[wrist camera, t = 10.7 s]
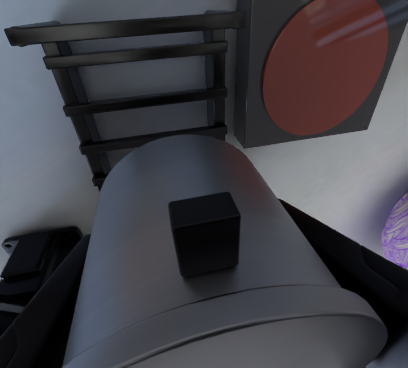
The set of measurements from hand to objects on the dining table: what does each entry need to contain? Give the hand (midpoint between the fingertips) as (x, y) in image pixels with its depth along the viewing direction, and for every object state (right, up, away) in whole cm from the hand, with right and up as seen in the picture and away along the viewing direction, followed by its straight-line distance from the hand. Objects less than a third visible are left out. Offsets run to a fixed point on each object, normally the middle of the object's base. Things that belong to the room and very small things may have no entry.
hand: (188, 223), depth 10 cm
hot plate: (+9, +9, +7) cm, 15 cm away
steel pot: (0, +1, +1) cm, 1 cm away
